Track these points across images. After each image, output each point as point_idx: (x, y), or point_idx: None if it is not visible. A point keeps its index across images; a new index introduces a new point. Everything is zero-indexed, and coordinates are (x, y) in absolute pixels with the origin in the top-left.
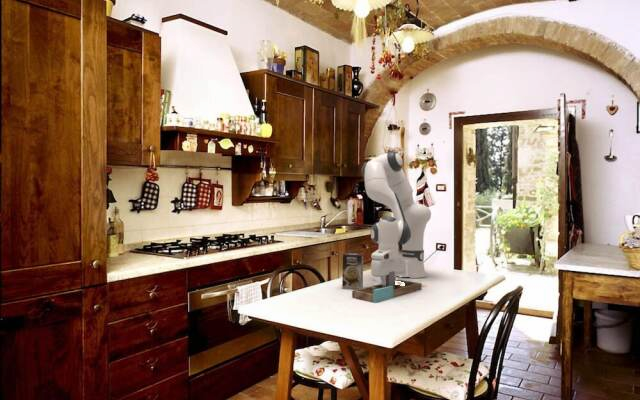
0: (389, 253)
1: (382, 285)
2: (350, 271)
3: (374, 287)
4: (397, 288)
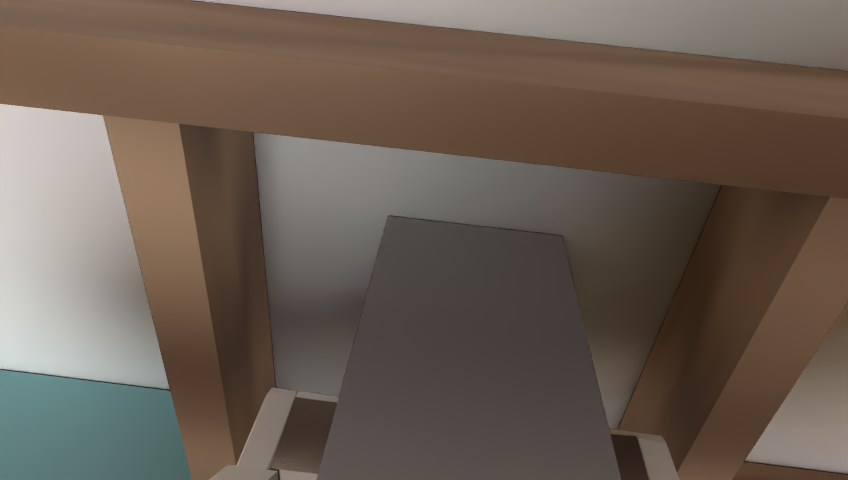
0: None
1: (356, 335)
2: None
3: (169, 204)
4: (668, 413)
